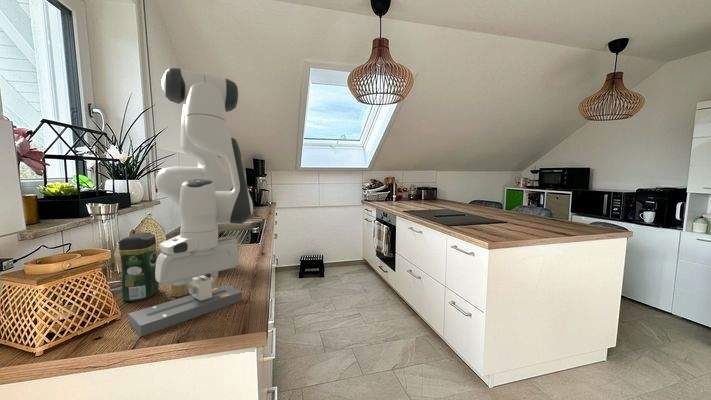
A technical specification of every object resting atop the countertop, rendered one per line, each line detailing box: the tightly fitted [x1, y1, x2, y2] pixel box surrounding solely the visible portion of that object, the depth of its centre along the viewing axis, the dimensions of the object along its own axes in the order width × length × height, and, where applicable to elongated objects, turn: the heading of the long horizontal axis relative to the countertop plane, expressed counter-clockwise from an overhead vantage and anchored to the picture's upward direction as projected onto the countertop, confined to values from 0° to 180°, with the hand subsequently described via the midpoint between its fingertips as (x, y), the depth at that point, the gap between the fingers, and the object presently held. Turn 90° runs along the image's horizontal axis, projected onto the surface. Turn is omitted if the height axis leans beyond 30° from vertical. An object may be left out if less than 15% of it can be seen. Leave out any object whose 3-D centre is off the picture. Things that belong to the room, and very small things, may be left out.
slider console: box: [128, 284, 243, 337], centre depth 75 cm, size 24×9×3 cm, turn 142°
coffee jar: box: [118, 232, 160, 302], centre depth 84 cm, size 10×8×19 cm
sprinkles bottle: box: [170, 280, 189, 298], centre depth 85 cm, size 5×5×14 cm
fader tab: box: [191, 275, 213, 301], centre depth 77 cm, size 3×5×5 cm, turn 52°
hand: (201, 290), depth 77 cm, fingers closed on fader tab, 3 cm apart
